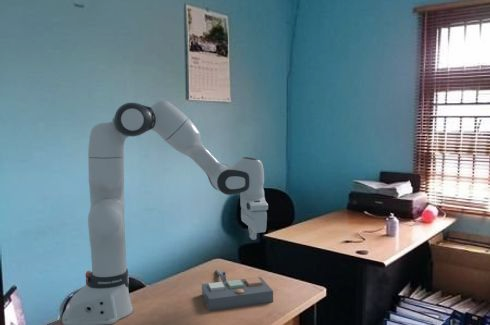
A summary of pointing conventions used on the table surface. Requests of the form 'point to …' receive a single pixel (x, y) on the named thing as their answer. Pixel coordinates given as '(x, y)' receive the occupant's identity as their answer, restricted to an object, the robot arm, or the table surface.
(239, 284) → the sage button
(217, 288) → the white button
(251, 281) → the terracotta button
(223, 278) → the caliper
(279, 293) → the table surface
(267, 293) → the button panel
